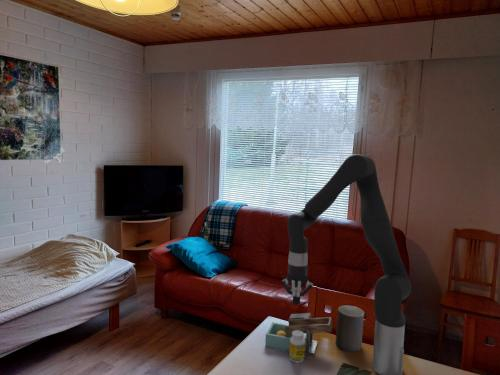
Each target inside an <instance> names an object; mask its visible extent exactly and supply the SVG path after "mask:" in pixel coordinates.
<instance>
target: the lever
mask: <svg viewBox="0 0 500 375" xmlns="http://www.w3.org/2000/svg"><path fill="white" fill-rule="evenodd" d="M287 321H288V324H287V325H288V326H285V329H286V334H292V332H293V331H295V330H299V331H302V332H303V333H304V334H306V333H307V329H308V330H310V333H313V334H322V333H323V334H325V333H332V330H333V325H334V324H333V319H332V317H331V316H329V317H326V316H325V317H314V318H313V317H312V314H311V312H303V313H290V316H289V319H288V320H287Z"/></svg>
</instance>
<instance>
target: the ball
mask: <svg viewBox="0 0 500 375" xmlns="http://www.w3.org/2000/svg"><path fill="white" fill-rule="evenodd" d="M276 335H279V336H284V337H286V333H285V332H284V331H278V332H277V334H276Z"/></svg>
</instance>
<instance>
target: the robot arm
mask: <svg viewBox="0 0 500 375" xmlns="http://www.w3.org/2000/svg"><path fill="white" fill-rule="evenodd" d="M353 183H356V187H357V190H358V193H359V196H360V211H359V212H360V223H361V227H362V230H363V233H364V237H365V240H366V241H367V243H368V244H369V246H370V247H371V249H372V250H373V252H374V253H375V254H376V256H377V257H378V258H379V261H380V263H381V264H380V265H381V268H382V272H383V276H381V277H380V278H378V279H377V280H376V283H375V286H374V298H373V309H374V313H375V324H374V336H373V337H374V338H373V353H372V361H371V362H372V363H371V365H372V367H371V368H372V369H373V370H374V372H375V373H377V374H379V375H403V365H404V357H405V356H404V354H405V349H404V342H405V327H406V314H404V313H403V312H402V306H403V305H402V304H403V303H402V302H403V301H404V300H405V299H407V298H408V297H409V296H410V295H411V292H412V284H411V281H410V278H409V275H408V273H407V271H406V268H405V266H404V263H403V260H402V258H401V254H400V251H399V248H398V245H397V242H396V239H395V236H394V231H393V227H392V224H391V220H390V217H389V215H388V214H389V213H388V211H387V207H386V205H385V201H384V198H383V196H382V193H381V189H380V185H379V179H378V173H377V167H376V164H375V162H374V160H373V159H372V157H370V156H368V155H364V154H360V153H359V154H358V153H356V154H351V155H349V156H348V157H347V158H346V159H345V160H344V161H343V162H342V164H341V165H340V166H339V168H338V169H337V170H336V172H335V173H334V174H333V175H332V177H331V178H330V179H329V180H328V181H327V182H326V183H325V185H324V186H323V187H321V189H320V190H318V191H317V192H316V193H314V194H315V195H313V196H312V197H311V198H310V199H309V200H308V201H307V202H306V203H305V205H304V208H303V209H302V210H301V211H299V212H296V213H292V214H291V215H290V216H288V219H287V223H286V224H287V232H288V233H287V234H288V238H289V253H288V260H287V262H288V265H287V266H288V268H287V276H286V278H284V279H282V280H281V282H280V283H281V284H282V286H283V288H284V289H285V291H286V292H287V294H288V295H292V304H293V305H294V306H299V305H300V303H301V297H304V296H305V295H306V294H307V293H308V292H309V291H310V290H311V289H312V288H313V286H314V283H313V282H310V281H309V278H308V262H309V261H308V260H309V259H308V258H309V256H308V250H309V249H308V247H309V246H308V245H309V244H308V243H309V241H308V238H307V237H305V234H304V230H307V229H309V228H310V227H311V226H313V224H314V223H315V222H316V221H317V219H318V218H319V217H320V216H321V215H323V213H325V212H326V211H327V210H329V208H330V207H331V206H333V204H334V203H335V201H336V200H337V198H338V197H339V196H340V194H341V193H342V192H343V191H344V190H345V189H346V188H347V187H349V186H350V185H353ZM303 287H305V288H304V289H303V290H302V288H303Z"/></svg>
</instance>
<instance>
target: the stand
mask: <svg viewBox="0 0 500 375" xmlns="http://www.w3.org/2000/svg"><path fill="white" fill-rule="evenodd" d="M305 335H306V336H305V338H304V339H305V355H308V356H311V357H312V356H313V357H314V356H315V353H316V349H317V346H318V340H313V337H314V333H310V330H308V329H307V333H305Z"/></svg>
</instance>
